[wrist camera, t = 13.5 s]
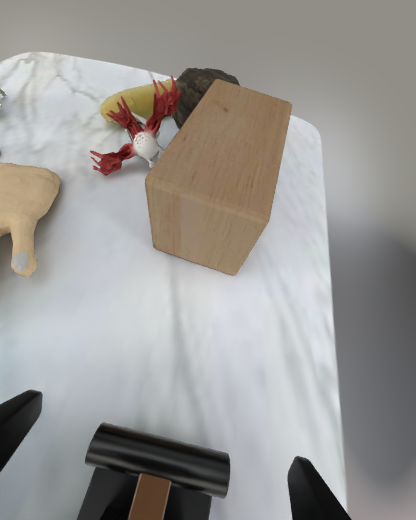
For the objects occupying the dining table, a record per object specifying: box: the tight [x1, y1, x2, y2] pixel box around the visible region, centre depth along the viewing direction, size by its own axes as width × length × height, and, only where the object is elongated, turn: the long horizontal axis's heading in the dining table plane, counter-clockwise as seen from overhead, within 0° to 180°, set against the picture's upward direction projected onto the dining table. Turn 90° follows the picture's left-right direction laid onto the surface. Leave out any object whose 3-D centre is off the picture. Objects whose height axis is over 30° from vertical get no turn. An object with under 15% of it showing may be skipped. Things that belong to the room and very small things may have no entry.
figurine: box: [90, 76, 181, 176], centre depth 29 cm, size 15×12×7 cm
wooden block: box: [145, 79, 292, 275], centre depth 25 cm, size 10×10×20 cm
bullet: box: [100, 79, 175, 124], centre depth 36 cm, size 14×5×5 cm
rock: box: [170, 68, 240, 130], centre depth 32 cm, size 10×11×10 cm
